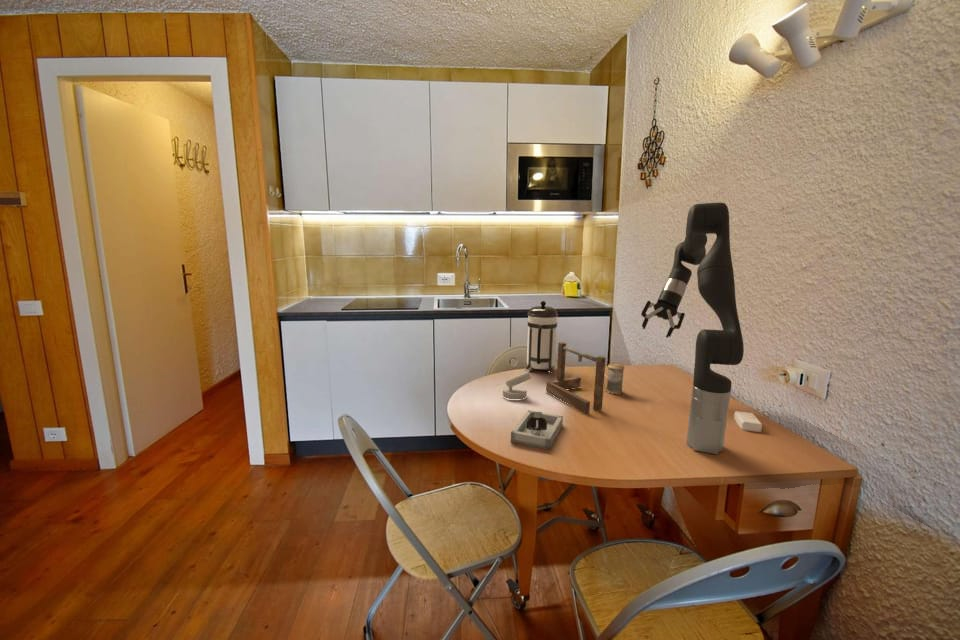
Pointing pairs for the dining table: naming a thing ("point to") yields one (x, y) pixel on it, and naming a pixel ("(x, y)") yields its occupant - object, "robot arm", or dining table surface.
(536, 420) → the power plug
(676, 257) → the robot arm
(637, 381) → the dining table surface
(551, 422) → the plug tray
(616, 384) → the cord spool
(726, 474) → the dining table surface
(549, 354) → the coffee press
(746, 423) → the soap
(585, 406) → the wooden frame rack
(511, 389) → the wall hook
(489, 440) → the dining table surface
